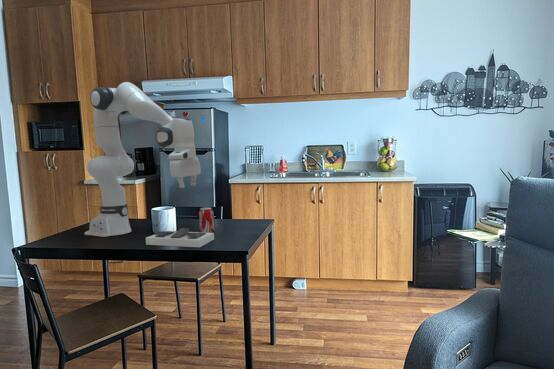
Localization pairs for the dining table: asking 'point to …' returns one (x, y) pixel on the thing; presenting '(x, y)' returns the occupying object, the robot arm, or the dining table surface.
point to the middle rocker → (180, 233)
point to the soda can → (206, 220)
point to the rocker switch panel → (180, 240)
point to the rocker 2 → (195, 234)
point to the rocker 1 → (163, 232)
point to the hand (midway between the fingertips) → (187, 186)
